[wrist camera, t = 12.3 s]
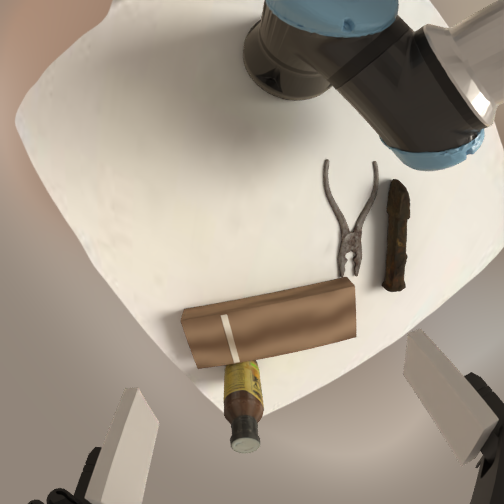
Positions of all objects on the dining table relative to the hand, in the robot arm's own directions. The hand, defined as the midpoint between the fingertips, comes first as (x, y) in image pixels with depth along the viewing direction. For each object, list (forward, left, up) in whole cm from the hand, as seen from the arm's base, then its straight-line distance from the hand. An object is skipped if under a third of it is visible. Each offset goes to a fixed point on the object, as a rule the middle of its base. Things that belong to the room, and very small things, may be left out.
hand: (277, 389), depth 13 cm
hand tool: (+6, +24, -35) cm, 42 cm away
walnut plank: (+17, +1, -34) cm, 38 cm away
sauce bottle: (+25, -6, -35) cm, 43 cm away
